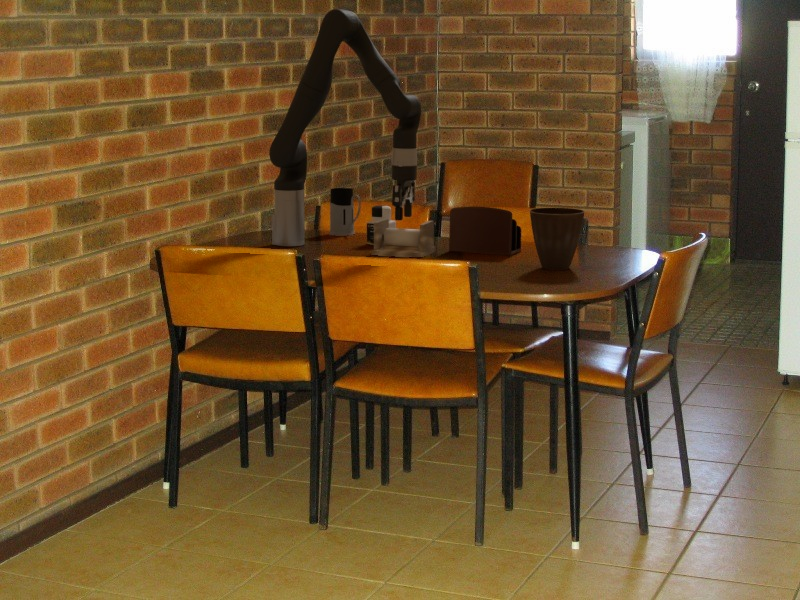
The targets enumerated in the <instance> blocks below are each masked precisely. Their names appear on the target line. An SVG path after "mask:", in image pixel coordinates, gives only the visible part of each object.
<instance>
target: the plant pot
mask: <svg viewBox="0 0 800 600" xmlns="http://www.w3.org/2000/svg"><path fill="white" fill-rule="evenodd" d="M529 215H530V224H531V225H530V226H531V231H532V236H533V240H534V245H535V250H536V253H537V256H538V261H539V263H540V265H541V268H542V269H544V270H548V271H565V270H569V268H570V266H571V265H572V261H573V259H574V257H575V254H576V250H577V247H578V244H579V241H580V236H581V234H582V233H581V232H582V228H583V223H584V218H585V210H584V209H583V210H582V209H579V208H570V207H539V208H533V209H530V210H529Z"/></svg>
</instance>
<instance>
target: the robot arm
mask: <svg viewBox="0 0 800 600" xmlns="http://www.w3.org/2000/svg"><path fill="white" fill-rule="evenodd" d="M343 42H344V43H345V44H346V45H347V46H348V47H349V48H350V49H351V50H352V51H353V52H354V53H355V55H356V56H357V57H358V59H359V61H360V63H361V66H362V69H363V71H364V74H365V76H366V77H367V78H368V81H370V83H371V85H372V86H373V87H374V88H375V89H376V91H377V92H378V93H379V94H380V96H381V98H382V101H383V104H384V105H385V107H386V109H387V111H388V112H389V113H390V115H392V117H394V118H396V119H397V120H398V124H397V127H396V128H395V129H394V130H393V133H392V151H391V152H392V153H391V172H390V174H391V177H390V178H391V180H393V181H397V182H396V184H393V185H392V193H391V194H392V195H391V196H392V197H391V198H392V199H391V206H393V207H394V221H403V219H404V217H405V218H411V217H412V215H413V214H412V213H413V211H412V209H413V204H414V202H416V185H415V184H416V182H415V181H417V179H418V150H417V149H418V148H417V142H418V139H417V136H418V130H419V126H420V121H421V115H422V104H421V101H420V99H419V98H418V97H417V96H416V95H414V94H405V93H404V92H403V90H402V89H401V88H400V87H401V81H400V78H398V76H397V74H396V73H395V71H393V69H392V68H391V67H390V66H389V64H388V63H387V62H386V61H385V59H384V58H383V57H382V55H381V54H380V52H379V51H378V49H377V48H376V46H375V44H374V43H373V41H372V40H371V38H370V36H369V35H368V32H367V31H366V28H365V27H364V25H363V23H362V21H361V20H360V18H359V17H358V15H357V14H356V13H355V12H353V11H351V10H348V9H341V8H333V9H331V10H329V11H328V12H327V13H326V14H324V17H323V19H322V21H321V24H320V27H319V31H318V34H317V38H316V40H315V44H314V47H313V49H312V52H311V55H310V56H309V60H308V62H307V64H306V66H305V69H304V72H303V73H302V76H301V78H300V80H299V83H298V84H297V87H296V90H295V93H294V96H293V97H292V100H291V102H290V105H289V107H288V110H287V112H286V116H285V117H284V120H283V122H282V124H281V126H280V127H279V129H278V131H277V133H276V134H275V137H274V138H273V140H272V142H271V144H270V146H269V147H270V148H269V152H268V154H269V160H270V162H271V164H272V165H273V166H275V167H276V168H279V174H278V175H277V178H275V180H274V182H273V190H274V191H273V195H274V196H273V197H274V202H273V203H274V213H272V214H271V226H272V227H271V230H272V233H271V234H272V238H271V239H272V245H273V246H279V247H300V246H304V245H306V244H305V242H306V241H305V240H306V237H305V235H306V234H305V233H306V232H305V183H306V181H307V173H308V169H307V168H308V151H307V146H306V144H305V142H304V141H303V140H302V137H303V134H304V132H305V130H306V129H307V128H308V126H309V125H310V124H311V122H312V121H313V120H314V119H315V117H316V116H317V115H318V114H319V112H320V111H321V110H322V108H323V106H324V104H325V103H326V100H327V98H328V95H329V94H330V93H329V92H330V91H331V88H332V83H333V68H334V67H333V66H334V65H333V64H334V60H335V58H336V55H337V52H338V50H339V48H340V47H341V44H342V43H343Z"/></svg>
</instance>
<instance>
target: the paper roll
mask: <svg viewBox="0 0 800 600" xmlns="http://www.w3.org/2000/svg"><path fill="white" fill-rule="evenodd" d="M384 243H385V245H386V246H402V247H420V228H419V229H418V228H416V229H415V228H399V227H398V228H397V227H396V228H386V230H385V233H384Z"/></svg>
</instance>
